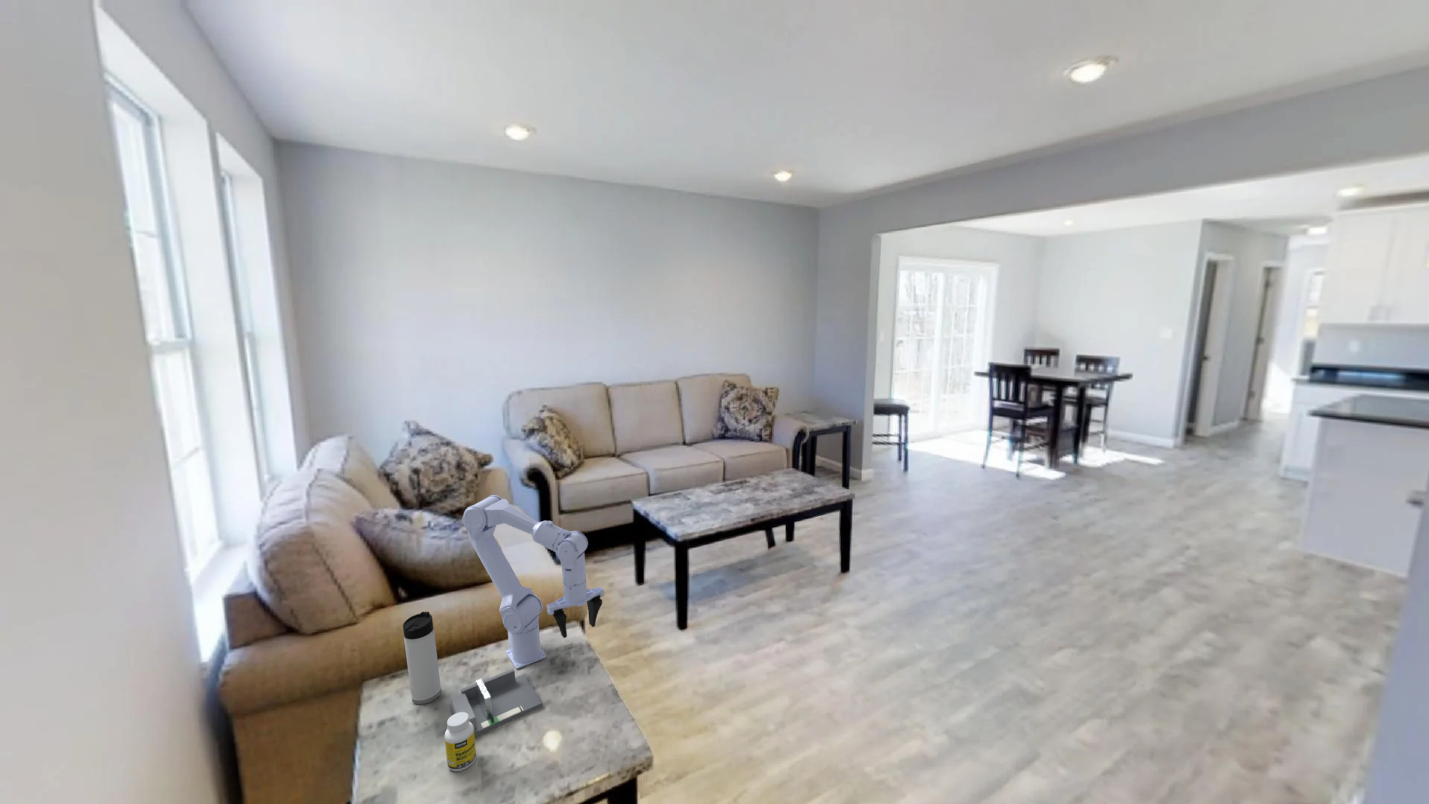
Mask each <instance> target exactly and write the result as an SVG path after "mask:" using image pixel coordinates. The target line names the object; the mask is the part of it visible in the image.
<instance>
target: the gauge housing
mask: <svg viewBox="0 0 1429 804" xmlns="http://www.w3.org/2000/svg"><path fill="white" fill-rule="evenodd" d="M482 681H483V683H484V685H485V687H486V689H487V691H488V693H489V695H490V697H491V705H492V715H493V716H492V717H493V719H494V722H493V723H491V721H490V719H489V718H487V717H486V715H485V713H484V711H483V709H482V707H481V705H480V702H479V700H478V696H477V687H476V683H474V684H471V685H469V686H465V687H463V688H461V689H460V692H461V693H460V694H457V695H455V696H452V697H451V698H450V699H449V700H450V705H449V707H450V710H451V713H452V715H454V714H456V713H459V712H465V713H467V714H468V715H469V722H471V723H472V724H473V727H474V736H475V738H476V737H478V736H480V735H482V734H484V733H487V732H490V731H492V730H493V729H497V728H498V727H501V726H503V725H504V724H507V723H510V722H512V721H513V720H516V719H518V718H520V717H524V716H525V715H528V714H529V713H533V712H534V711H537V710H538V709H541V708H542V707H543V703H542V701H541V699H540V698H539V696H538V695H537V693H536V692H535V689H534V688H533V686H532V685H531V683H530V682H529V680H528V679H527V677H526V675H524V674H522V675H520V676H518V677H516V672H515V670H514V668H511V669H509V670H507V671H504V672H501V673H499V674H496V675H493V676H492V677H489V678H485V679H483V680H482Z"/></svg>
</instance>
